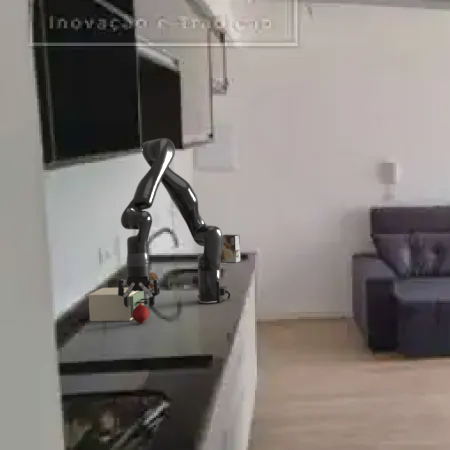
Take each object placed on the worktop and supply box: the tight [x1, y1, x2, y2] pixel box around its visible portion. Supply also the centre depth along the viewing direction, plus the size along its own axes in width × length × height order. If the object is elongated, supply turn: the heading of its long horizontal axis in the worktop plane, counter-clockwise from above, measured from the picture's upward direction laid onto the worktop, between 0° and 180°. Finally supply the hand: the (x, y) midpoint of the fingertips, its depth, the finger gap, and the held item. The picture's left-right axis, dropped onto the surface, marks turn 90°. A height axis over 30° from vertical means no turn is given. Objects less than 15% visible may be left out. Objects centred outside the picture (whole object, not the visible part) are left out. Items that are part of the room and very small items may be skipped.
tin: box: [149, 271, 159, 291], centre depth 296 cm, size 15×3×8 cm, turn 56°
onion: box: [132, 302, 151, 324], centre depth 235 cm, size 6×6×8 cm
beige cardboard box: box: [88, 287, 138, 322], centre depth 244 cm, size 15×13×10 cm
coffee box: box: [221, 233, 241, 263], centre depth 374 cm, size 9×6×16 cm
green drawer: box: [130, 291, 149, 319], centre depth 245 cm, size 18×12×8 cm, turn 95°
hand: (139, 306), depth 234 cm, fingers open, 8 cm apart
